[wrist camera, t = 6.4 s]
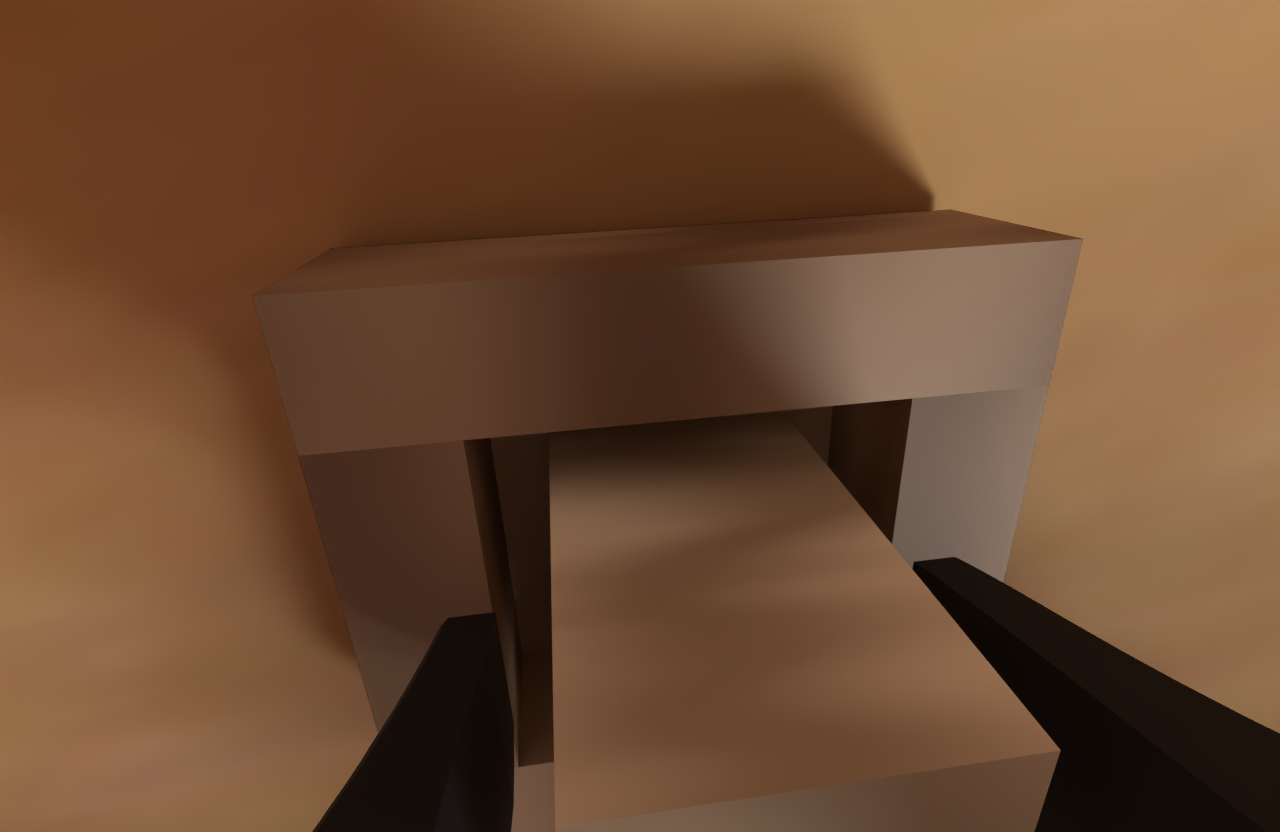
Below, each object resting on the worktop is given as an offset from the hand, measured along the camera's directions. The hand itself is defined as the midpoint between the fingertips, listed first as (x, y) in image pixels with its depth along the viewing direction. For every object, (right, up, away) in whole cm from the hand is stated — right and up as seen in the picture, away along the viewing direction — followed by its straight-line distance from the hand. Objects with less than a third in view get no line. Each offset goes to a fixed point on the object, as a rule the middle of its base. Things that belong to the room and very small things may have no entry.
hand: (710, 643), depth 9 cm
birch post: (0, +1, +3) cm, 3 cm away
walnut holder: (0, +2, +4) cm, 4 cm away
